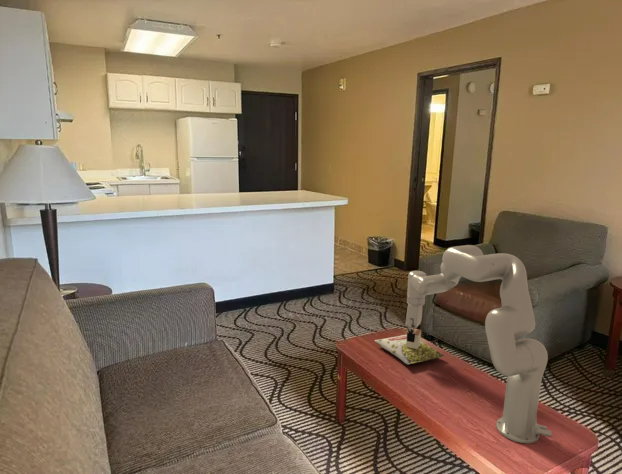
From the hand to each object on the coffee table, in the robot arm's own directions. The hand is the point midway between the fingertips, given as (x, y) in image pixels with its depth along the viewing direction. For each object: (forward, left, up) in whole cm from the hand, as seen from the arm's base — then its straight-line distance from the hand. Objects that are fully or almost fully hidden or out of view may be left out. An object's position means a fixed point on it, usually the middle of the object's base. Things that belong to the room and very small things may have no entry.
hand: (413, 337), depth 183 cm
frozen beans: (+3, -3, -10) cm, 11 cm away
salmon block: (0, -1, -4) cm, 4 cm away
